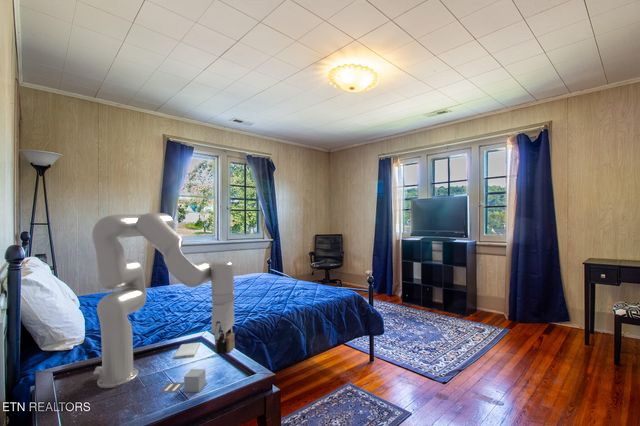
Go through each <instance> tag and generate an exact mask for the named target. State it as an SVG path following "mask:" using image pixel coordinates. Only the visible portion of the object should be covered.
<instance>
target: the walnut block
mask: <svg viewBox="0 0 640 426" xmlns="http://www.w3.org/2000/svg"><path fill="white" fill-rule="evenodd" d="M220 336H222V337H223V335H220ZM225 341H227V353H226V354H231V352H232V351H233V350H234V349H235V347H236V344H235V341H236V340H235V332H233V333H226V339H225ZM214 346H215V347H214V349H215V350H214V351H215V354H217V343H216V339H215V338H214Z"/></svg>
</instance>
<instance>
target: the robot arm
mask: <svg viewBox="0 0 640 426" xmlns="http://www.w3.org/2000/svg"><path fill="white" fill-rule="evenodd" d="M131 237H132V238H133V237H134V238H135V237H143V238H144V239H145V240H146V241H148V242H149V243H150V244H151V245H152V246H153V247H154V248H155V249H156V250H158V252H159V253H161V255H162V256H163V262H164V264H165V266H166V268H167V270H168V272H169V273H170V274H171V275H172V276H173V277H174V278H175V279H176V280H178V281H179V282H180V283H181V284H182V285H184V286H186V287H187V288H188V287H189V288H196V287H199V286H202V285H203V284H206V283H208V282H211V283H210V284H211V285H210V286H211V305H212V306H211V307H212V308H211V326H210V327H211V329H210V330H211V334H212V335H214V336H213V338H214V340H215V339H216V343H217V353H216V354H218V355H226V354H228V353H227V341H225V339H226V333H234V330H233V328H234V326H235V307H234V306H235V305H234V302H235V277H234V276H235V275H234V263H232V262H231V261H227V260H226V261H211V260H202V261H199V262H195V263H193V262H192V261H191V260H189V259H188V258H187V257H186V256H185V255H184V253H183V251H182V249H181V247H182V245H183V242H184V239H183V237H182V236H181V235H180V233H178V232H177V231H176V230H175V221H174V219H173V217H171V216H170V214H168V213H164V212H148V213H144V214H112V215H108V216H104V217H102V218H100V219H99V220H98V221H97V222H95V225H94V226H93V229H92V241H93V246H94V248H95V254H96V264H97V274H98V280H99V285H100V286H101V287H102V288H103V289H105V290H115V289H119V288H121V289H122V290H118V291H115V292H111V293H109V294H106V295H105V296H103V297H102V298H101V299H100V300H99V302H98V303H97V305H96V314H97V317H98V319H99V324H100V335H101V336H100V337H101V343H100V344H101V362H102V363H101V365H100V366H96V367H95V369H94V371H93V375H94V376H99V377H98V379H97V382H96V383H97V384H96V385H97V387H98V388H101V389H102V388H103V389H112V388H117V387H118V386H120V385H124V384H126V383H128V382H130V381H132V380H133V379H135V378H136V377H138V375H139V370H138V368H136V367H134V349H133V348H134V347H133V346H134V345H133V344H134V343H133V326H132V325H133V324H132V323H131V322H130V320H129V317H128V316H129V315H131V314H132V313H135V312H137V311H140V310H141V309H142V308H143V307H144V306H145V305H146V302H147V288H146V279H145V272H144V268H143V266H142V264H141V263H140V262H139V261H137V260H135V259H126V258H125V256H126V255H125V250H124V247H123V245H122V244H121V242H120V241H119V239H123V238H124V239H125V238H131ZM220 335H223V337H222V336H220Z"/></svg>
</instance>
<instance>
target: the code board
mask: <svg viewBox="0 0 640 426" xmlns="http://www.w3.org/2000/svg"><path fill="white" fill-rule="evenodd" d="M207 384H208V382H206V384H205V385H204V386H203V388H202V389H201V390H200V391H199V392H184V390H183V391H182V393H183V394H186V393H187V394H200V393H201V392H202V391H203V390H204V389H205V388H206V386H207ZM182 387H184V382H170V381H169V382H168V383H167V384H166V385H165V386H164V387H163V388H161V390H160V391H159V393H175V394H176V393H178V391H179V390H180V389H182Z"/></svg>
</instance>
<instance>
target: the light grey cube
mask: <svg viewBox="0 0 640 426" xmlns="http://www.w3.org/2000/svg"><path fill="white" fill-rule="evenodd" d="M206 379H207V377H206V368H191V369H189V371H188V372H187V373H186V374H185V375H184V376H183V383H184V385H183V387H184V388H183V389H184V390H183V391H184V392H199V391H200V390H201V389H202V388H203V386H204V385H205V384H206V383H207V382H206ZM203 389H204V388H203Z"/></svg>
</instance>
